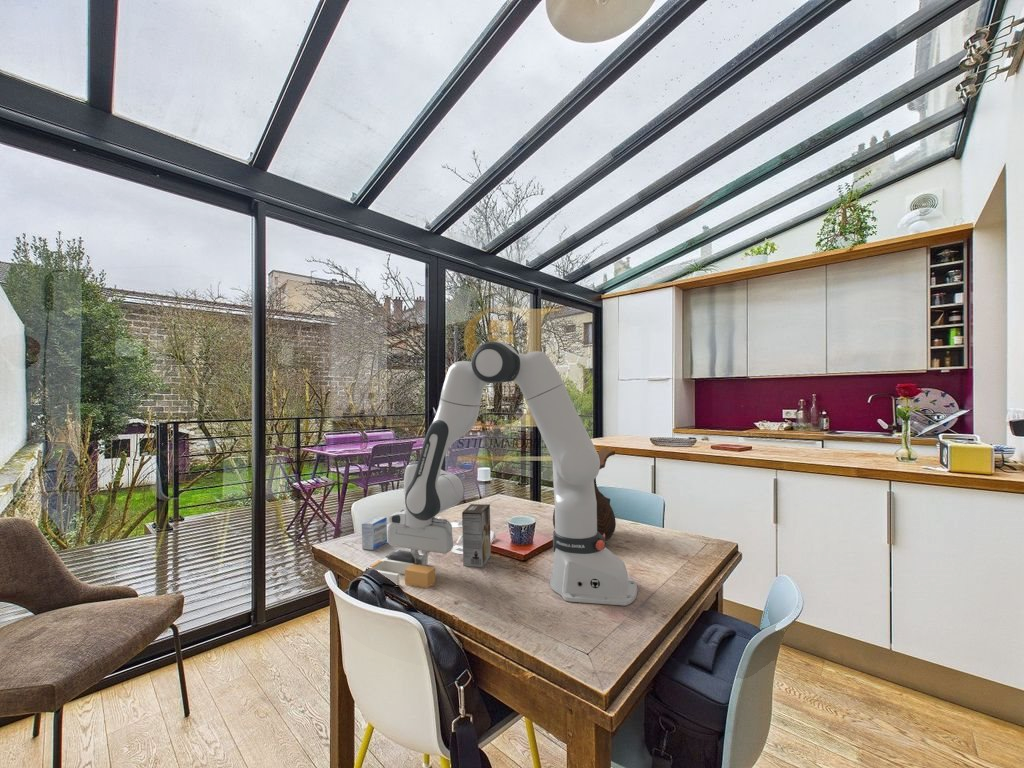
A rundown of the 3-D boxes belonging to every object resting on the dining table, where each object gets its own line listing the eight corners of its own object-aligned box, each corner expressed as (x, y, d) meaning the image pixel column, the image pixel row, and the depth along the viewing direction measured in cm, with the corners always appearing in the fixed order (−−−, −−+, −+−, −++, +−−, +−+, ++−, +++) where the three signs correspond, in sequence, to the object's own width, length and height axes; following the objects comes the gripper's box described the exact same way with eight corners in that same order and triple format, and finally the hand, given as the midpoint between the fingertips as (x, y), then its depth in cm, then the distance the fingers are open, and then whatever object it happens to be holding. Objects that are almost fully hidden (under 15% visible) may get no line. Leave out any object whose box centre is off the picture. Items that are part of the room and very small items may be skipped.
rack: (427, 564, 131) (427, 553, 131) (397, 586, 117) (397, 574, 117) (398, 559, 135) (398, 549, 135) (365, 580, 121) (365, 568, 121)
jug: (619, 553, 137) (618, 457, 137) (550, 550, 141) (549, 456, 141) (615, 530, 159) (614, 447, 159) (555, 528, 162) (554, 446, 162)
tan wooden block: (435, 582, 120) (435, 567, 120) (427, 588, 116) (427, 573, 116) (413, 578, 122) (413, 564, 122) (405, 584, 119) (404, 569, 119)
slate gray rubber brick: (419, 566, 130) (419, 553, 130) (411, 572, 126) (411, 558, 126) (399, 563, 132) (399, 550, 132) (391, 568, 129) (390, 555, 129)
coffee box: (471, 554, 139) (470, 503, 139) (491, 555, 137) (490, 504, 137) (462, 566, 130) (461, 511, 130) (483, 567, 128) (482, 512, 128)
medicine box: (373, 550, 143) (372, 524, 143) (361, 549, 144) (361, 522, 144) (387, 542, 150) (387, 516, 150) (376, 541, 152) (376, 515, 152)
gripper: (456, 516, 127) (457, 564, 127) (397, 510, 134) (397, 555, 134) (445, 523, 121) (446, 573, 121) (384, 516, 128) (384, 563, 128)
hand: (420, 564), depth 127 cm, fingers closed
